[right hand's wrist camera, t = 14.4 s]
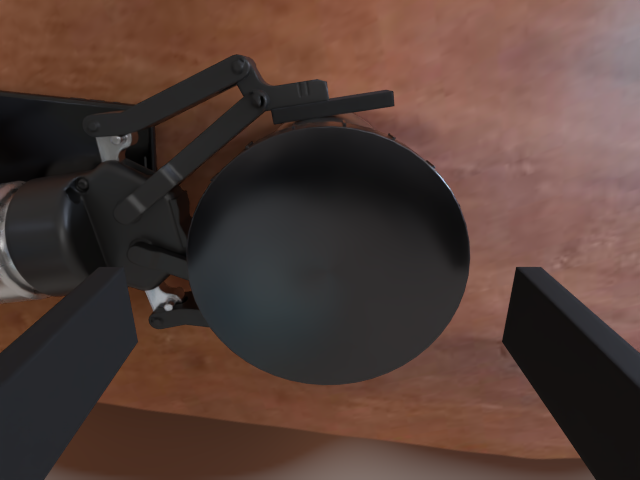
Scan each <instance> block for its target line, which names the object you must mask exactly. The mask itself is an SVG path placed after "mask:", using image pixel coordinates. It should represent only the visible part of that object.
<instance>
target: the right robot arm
mask: <svg viewBox="0 0 640 480" xmlns="http://www.w3.org/2000/svg"><path fill="white" fill-rule="evenodd" d="M137 342H138V340H137V334H136V329H135V324H134V318H133V313H132V308H131V303H130V297H129V292H128V287H127V282H126V276H125V271H124V267H99V268H97V269H96V270H95V271H94V272H93V273H92V274H91V275H89V276H88V277H87V278H86V279H85V280H84V281H83V282H81V283H80V284H79V285H78V286H77V287H76V288H75V289H73V290H72V291H71V292H70V293H69V294H68V295H66V296H65V297H64V298H63V299H62V300H61V301H60V302H58V303H57V304H56V305H55V306H54V307H53V308H52V309H50V310H49V311H48V312H47V313H46V314H45V315H44V316H42V317H41V318H40V319H39V320H38V321H37V322H36V323H34V324H33V325H32V326H31V327H30V328H29V329H28V330H26V331H25V332H24V333H23V334H22V335H21V336H20V337H18V338H17V339H16V340H15V341H14V342H13V343H11V344H10V345H9V346H8V347H7V348H6V349H5V350H3V351H2V352H1V353H0V480H44V479H45V477H46V476H47V475H48V473H49V472H50V470H51V469H52V467H53V466H54V464H55V463H56V461H57V460H58V458H59V457H60V455H61V454H62V453H63V451H64V450H65V448H66V447H67V445H68V444H69V442H70V441H71V439H72V438H73V436H74V435H75V433H76V432H77V430H78V429H79V428H80V426H81V425H82V423H83V422H84V420H85V419H86V417H87V416H88V414H89V413H90V411H91V410H92V408H93V407H94V405H95V404H96V403H97V401H98V400H99V398H100V397H101V395H102V394H103V392H104V391H105V389H106V388H107V386H108V385H109V383H110V382H111V381H112V379H113V378H114V376H115V375H116V373H117V372H118V370H119V369H120V367H121V366H122V364H123V363H124V361H125V360H126V359H127V357H128V356H129V354H130V353H131V351H132V350H133V348H134V347H135V345H136V344H137ZM502 342H503V344H504V345H505V347H506V348H507V350H508V351H509V353H510V354H511V356H512V357H513V359H514V360H515V361H516V363H517V364H518V366H519V367H520V369H521V370H522V372H523V373H524V375H525V376H526V378H527V379H528V381H529V382H530V384H531V385H532V386H533V388H534V389H535V391H536V392H537V394H538V395H539V397H540V398H541V400H542V401H543V403H544V404H545V406H546V407H547V408H548V410H549V411H550V413H551V414H552V416H553V417H554V419H555V420H556V422H557V423H558V425H559V426H560V428H561V429H562V431H563V432H564V433H565V435H566V436H567V438H568V439H569V441H570V442H571V444H572V445H573V447H574V448H575V450H576V451H577V453H578V454H579V455H580V457H581V458H582V460H583V461H584V463H585V464H586V466H587V467H588V469H589V470H590V472H591V473H592V475H593V476H594V477H595V479H596V480H640V353H639V352H638V351H637V350H635V349H634V348H633V347H632V346H631V345H630V344H629V343H627V342H626V341H625V340H624V339H623V338H622V337H620V336H619V335H618V334H617V333H616V332H615V331H614V330H612V329H611V328H610V327H609V326H608V325H607V324H606V323H604V322H603V321H602V320H601V319H600V318H599V317H598V316H596V315H595V314H594V313H593V312H592V311H591V310H590V309H588V308H587V307H586V306H585V305H584V304H583V303H582V302H580V301H579V300H578V299H577V298H576V297H575V296H574V295H572V294H571V293H570V292H569V291H568V290H567V289H565V288H564V287H563V286H562V285H561V284H560V283H559V282H557V281H556V280H555V279H554V278H553V277H552V276H551V275H549V274H548V273H547V272H546V271H545V270H544V269H543V268H541V267H516V271H515V276H514V282H513V287H512V292H511V297H510V303H509V308H508V313H507V318H506V324H505V329H504V334H503V340H502Z"/></svg>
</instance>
